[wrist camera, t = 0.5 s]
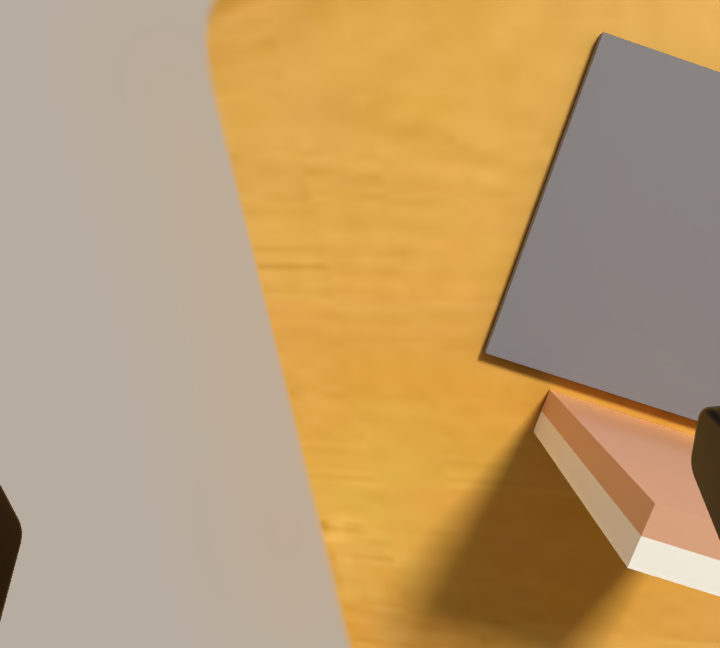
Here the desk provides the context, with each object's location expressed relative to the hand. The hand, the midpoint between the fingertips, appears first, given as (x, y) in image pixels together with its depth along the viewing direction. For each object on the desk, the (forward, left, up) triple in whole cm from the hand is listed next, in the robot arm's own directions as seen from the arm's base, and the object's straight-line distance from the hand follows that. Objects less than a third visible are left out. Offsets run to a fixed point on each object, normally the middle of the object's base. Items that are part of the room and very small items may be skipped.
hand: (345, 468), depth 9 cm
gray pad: (+7, -11, -17) cm, 22 cm away
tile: (-1, -12, -17) cm, 21 cm away
